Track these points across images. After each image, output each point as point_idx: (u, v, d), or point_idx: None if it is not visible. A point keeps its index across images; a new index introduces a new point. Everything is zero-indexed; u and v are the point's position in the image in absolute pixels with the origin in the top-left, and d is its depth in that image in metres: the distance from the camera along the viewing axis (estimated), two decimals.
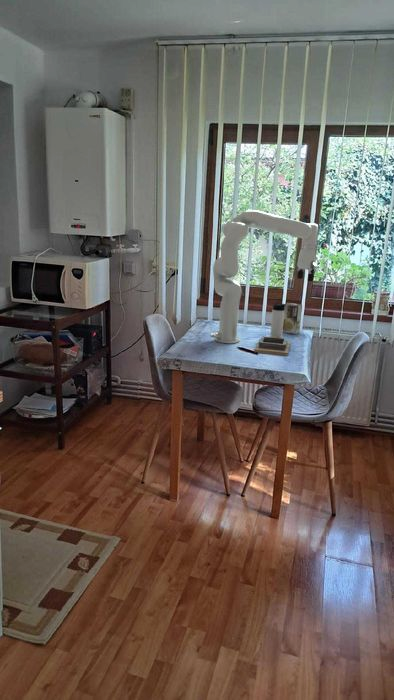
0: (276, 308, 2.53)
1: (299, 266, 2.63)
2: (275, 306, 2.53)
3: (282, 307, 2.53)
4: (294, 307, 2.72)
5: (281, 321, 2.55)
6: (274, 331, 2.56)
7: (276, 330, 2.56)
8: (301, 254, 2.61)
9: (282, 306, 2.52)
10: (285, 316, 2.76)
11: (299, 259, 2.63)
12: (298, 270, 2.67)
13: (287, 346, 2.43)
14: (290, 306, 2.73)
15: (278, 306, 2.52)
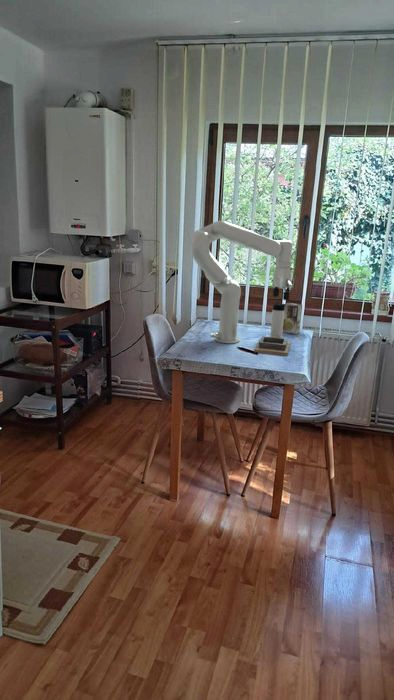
0: (276, 308, 2.53)
1: (274, 284, 2.53)
2: (275, 306, 2.53)
3: (282, 307, 2.53)
4: (294, 307, 2.72)
5: (281, 321, 2.55)
6: (274, 331, 2.56)
7: (276, 330, 2.56)
8: (276, 272, 2.51)
9: (282, 306, 2.52)
10: (285, 316, 2.76)
11: (274, 277, 2.53)
12: (274, 288, 2.57)
13: (287, 346, 2.43)
14: (290, 306, 2.73)
15: (278, 306, 2.52)
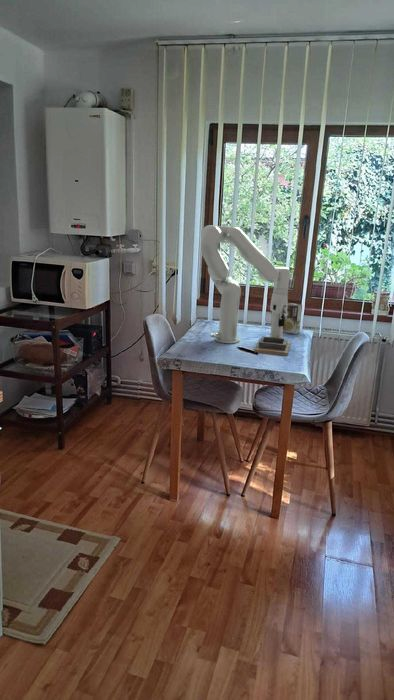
0: None
1: (271, 309, 2.57)
2: (275, 306, 2.53)
3: None
4: (294, 307, 2.72)
5: None
6: (274, 331, 2.56)
7: (276, 330, 2.56)
8: (273, 297, 2.54)
9: None
10: None
11: (271, 302, 2.57)
12: None
13: (287, 346, 2.43)
14: (290, 306, 2.73)
15: None
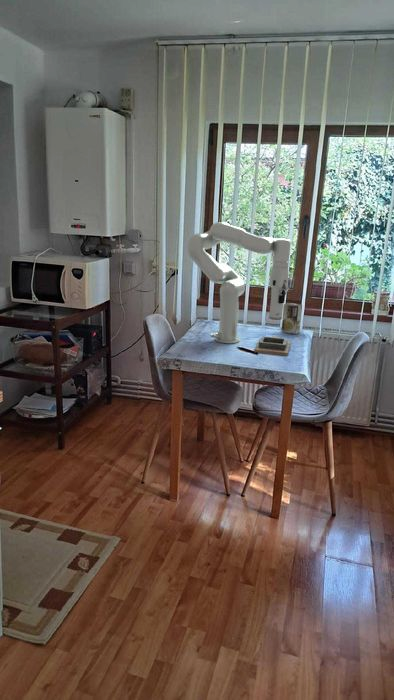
0: None
1: (271, 285, 2.39)
2: (275, 281, 2.35)
3: None
4: (294, 307, 2.72)
5: None
6: (273, 309, 2.38)
7: (276, 307, 2.37)
8: (273, 272, 2.36)
9: None
10: (285, 316, 2.76)
11: (270, 278, 2.38)
12: (271, 291, 2.41)
13: (287, 346, 2.43)
14: (290, 306, 2.73)
15: None
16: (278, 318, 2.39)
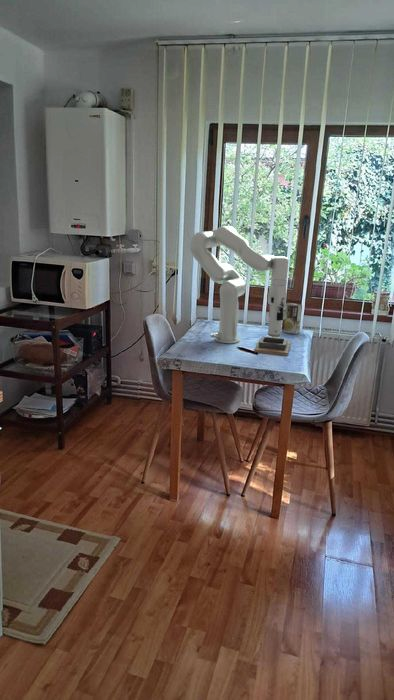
0: None
1: (269, 302, 2.40)
2: (273, 299, 2.36)
3: None
4: (294, 307, 2.72)
5: None
6: (272, 326, 2.39)
7: (274, 324, 2.38)
8: (271, 289, 2.37)
9: None
10: (285, 316, 2.76)
11: (269, 295, 2.40)
12: None
13: (287, 346, 2.43)
14: (290, 306, 2.73)
15: None
16: (276, 335, 2.40)
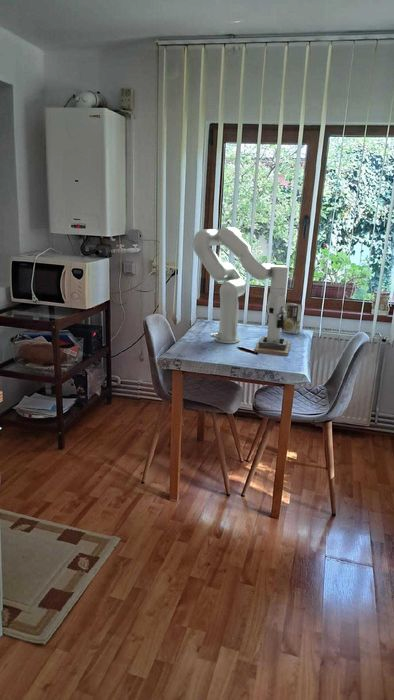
0: (272, 311, 2.37)
1: (268, 310, 2.41)
2: (271, 309, 2.37)
3: None
4: (294, 307, 2.72)
5: None
6: (270, 336, 2.40)
7: (273, 334, 2.40)
8: (270, 298, 2.38)
9: None
10: None
11: (268, 303, 2.41)
12: (268, 315, 2.44)
13: (287, 346, 2.43)
14: (290, 306, 2.73)
15: None
16: None
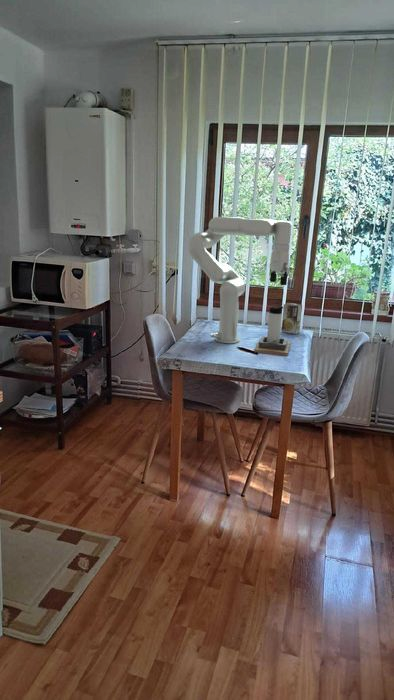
0: (272, 311, 2.37)
1: (271, 268, 2.37)
2: (272, 309, 2.37)
3: (279, 310, 2.37)
4: (294, 307, 2.72)
5: (278, 325, 2.39)
6: (270, 336, 2.40)
7: (273, 334, 2.40)
8: (273, 255, 2.34)
9: (279, 309, 2.37)
10: (285, 316, 2.76)
11: (271, 261, 2.36)
12: (271, 272, 2.40)
13: (287, 346, 2.43)
14: (290, 306, 2.73)
15: (275, 309, 2.36)
16: None
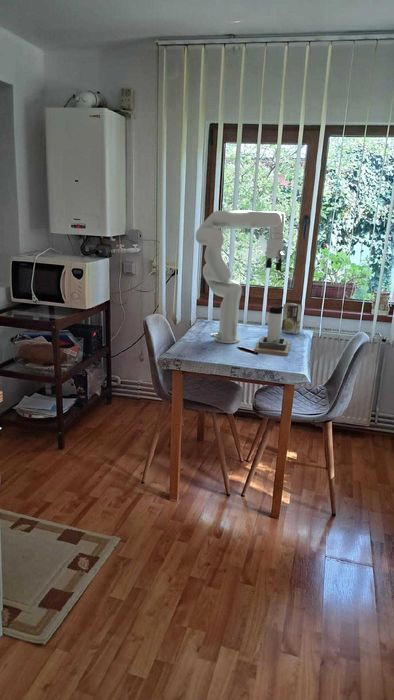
0: (272, 311, 2.37)
1: (267, 255, 2.61)
2: (272, 309, 2.37)
3: (279, 310, 2.37)
4: (294, 307, 2.72)
5: (278, 325, 2.39)
6: (270, 336, 2.40)
7: (273, 334, 2.40)
8: (269, 243, 2.58)
9: (279, 309, 2.37)
10: (285, 316, 2.76)
11: (267, 248, 2.60)
12: (267, 259, 2.64)
13: (287, 346, 2.43)
14: (290, 306, 2.73)
15: (275, 309, 2.36)
16: None
